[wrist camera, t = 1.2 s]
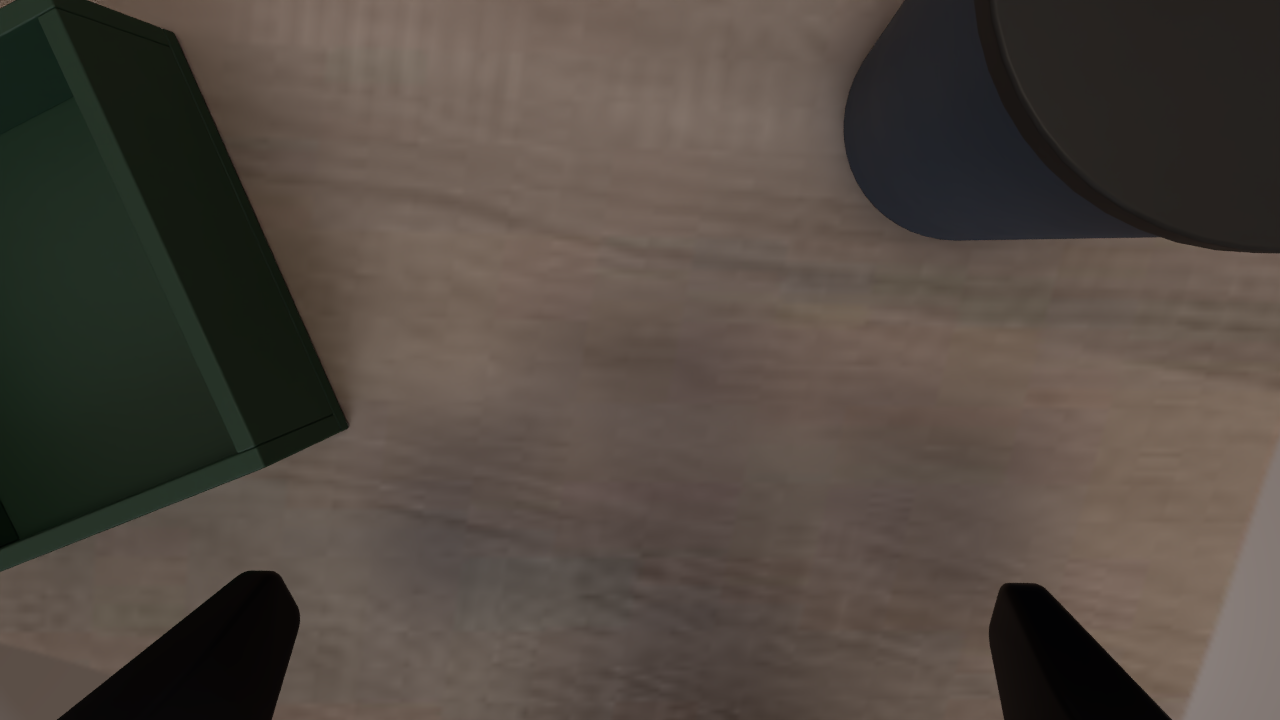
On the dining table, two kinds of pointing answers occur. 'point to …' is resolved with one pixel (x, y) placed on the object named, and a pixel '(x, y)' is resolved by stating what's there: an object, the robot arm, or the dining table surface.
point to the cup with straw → (1074, 121)
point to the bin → (130, 288)
